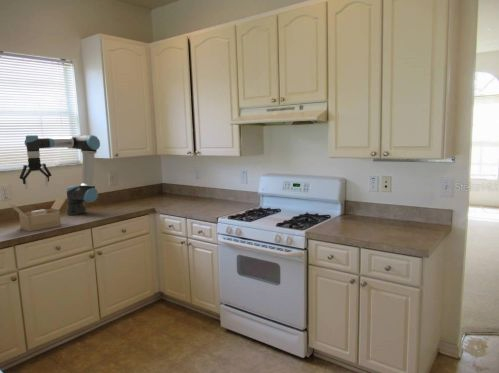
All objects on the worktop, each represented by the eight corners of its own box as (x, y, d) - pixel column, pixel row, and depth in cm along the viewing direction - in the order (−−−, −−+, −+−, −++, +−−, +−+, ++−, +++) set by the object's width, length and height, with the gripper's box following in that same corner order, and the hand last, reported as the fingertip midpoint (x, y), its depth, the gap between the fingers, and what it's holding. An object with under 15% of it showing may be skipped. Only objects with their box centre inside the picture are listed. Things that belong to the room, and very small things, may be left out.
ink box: (45, 224, 278) (43, 208, 277) (48, 225, 275) (46, 209, 274) (32, 227, 272) (30, 210, 270) (35, 228, 269) (33, 211, 267)
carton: (51, 222, 287) (50, 208, 286) (61, 226, 276) (60, 211, 274) (20, 228, 272) (18, 213, 270) (29, 232, 260) (27, 217, 259)
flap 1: (20, 213, 269) (8, 203, 263) (26, 215, 260) (15, 205, 254) (19, 213, 268) (8, 203, 263) (26, 216, 260) (14, 206, 254)
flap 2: (51, 208, 284) (58, 196, 288) (58, 210, 276) (66, 198, 279) (50, 208, 284) (58, 196, 287) (58, 210, 276) (65, 198, 279)
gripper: (50, 156, 278) (53, 184, 281) (12, 158, 260) (15, 189, 263) (54, 156, 273) (57, 185, 276) (15, 158, 255) (19, 190, 258)
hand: (36, 187), depth 270 cm, fingers open, 13 cm apart
